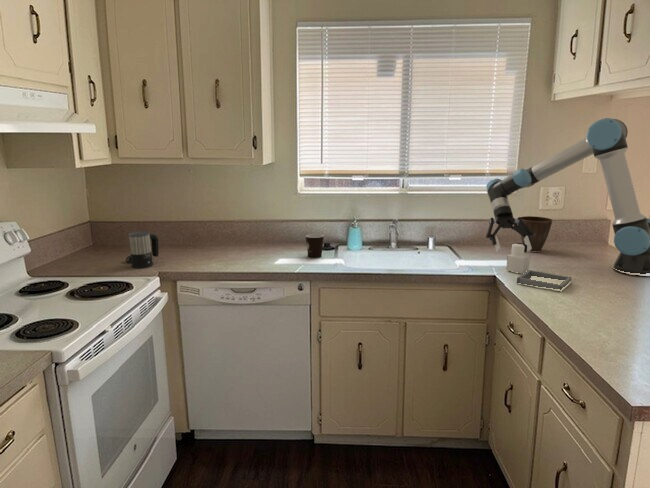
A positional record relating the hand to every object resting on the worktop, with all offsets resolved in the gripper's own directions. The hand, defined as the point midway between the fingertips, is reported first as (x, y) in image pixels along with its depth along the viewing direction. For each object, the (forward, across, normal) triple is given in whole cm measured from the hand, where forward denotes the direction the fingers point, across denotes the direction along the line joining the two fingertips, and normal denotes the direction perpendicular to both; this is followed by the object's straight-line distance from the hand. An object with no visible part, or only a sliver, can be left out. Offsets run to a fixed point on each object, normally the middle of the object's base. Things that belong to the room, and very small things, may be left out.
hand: (514, 250), depth 206 cm
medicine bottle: (+8, -1, -4) cm, 9 cm away
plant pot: (-17, -25, -29) cm, 42 cm away
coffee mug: (-16, +83, -29) cm, 89 cm away
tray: (+20, -3, +9) cm, 22 cm away
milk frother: (-11, +163, -23) cm, 165 cm away
